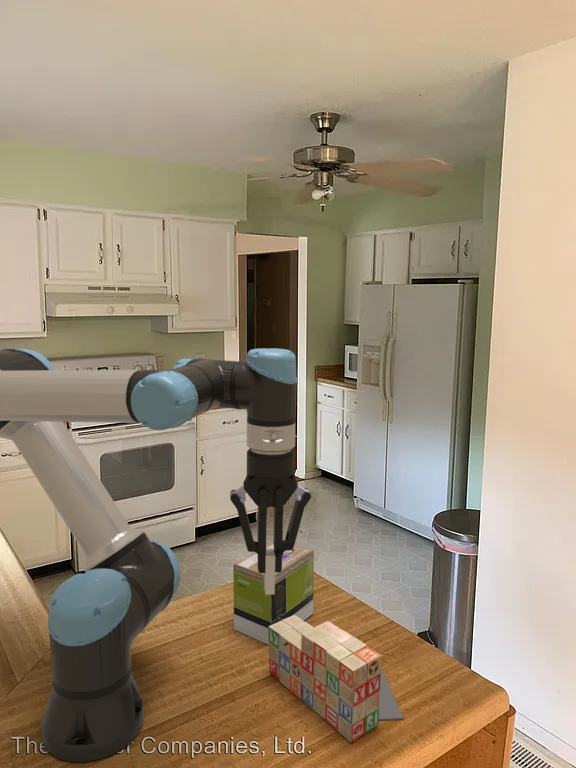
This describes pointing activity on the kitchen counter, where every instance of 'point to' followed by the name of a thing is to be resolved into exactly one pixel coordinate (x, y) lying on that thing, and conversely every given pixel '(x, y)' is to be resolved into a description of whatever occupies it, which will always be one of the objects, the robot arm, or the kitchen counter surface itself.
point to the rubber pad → (387, 702)
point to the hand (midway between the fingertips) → (269, 590)
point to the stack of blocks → (328, 673)
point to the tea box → (288, 600)
